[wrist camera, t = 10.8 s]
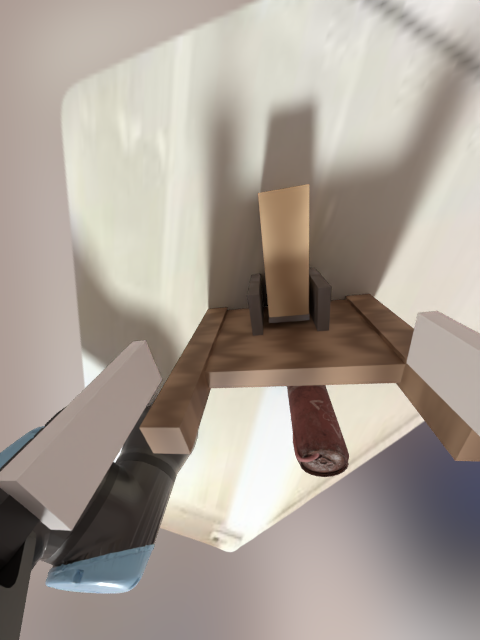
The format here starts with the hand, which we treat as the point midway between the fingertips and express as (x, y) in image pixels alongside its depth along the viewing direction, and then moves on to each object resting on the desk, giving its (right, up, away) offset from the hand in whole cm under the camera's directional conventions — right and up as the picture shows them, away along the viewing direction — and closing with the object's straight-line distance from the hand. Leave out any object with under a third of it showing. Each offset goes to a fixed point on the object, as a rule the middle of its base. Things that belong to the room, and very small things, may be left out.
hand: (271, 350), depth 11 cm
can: (+10, -9, +26) cm, 29 cm away
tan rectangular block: (+4, +11, +17) cm, 20 cm away
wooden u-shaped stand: (+5, +5, +19) cm, 21 cm away
